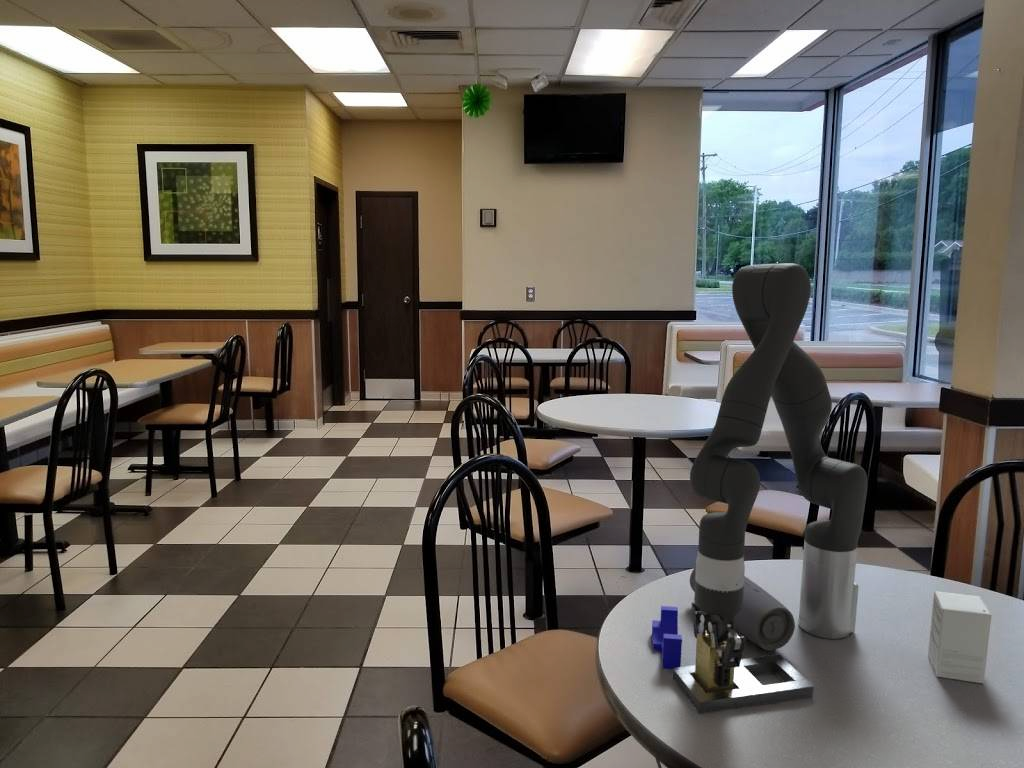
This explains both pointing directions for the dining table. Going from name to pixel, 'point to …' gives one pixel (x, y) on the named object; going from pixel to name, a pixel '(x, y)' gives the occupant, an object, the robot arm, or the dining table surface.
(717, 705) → the grey flat frame
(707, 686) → the tan rectangular block
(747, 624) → the bluetooth speaker
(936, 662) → the supplement box
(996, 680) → the dining table surface
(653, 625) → the cable clip
